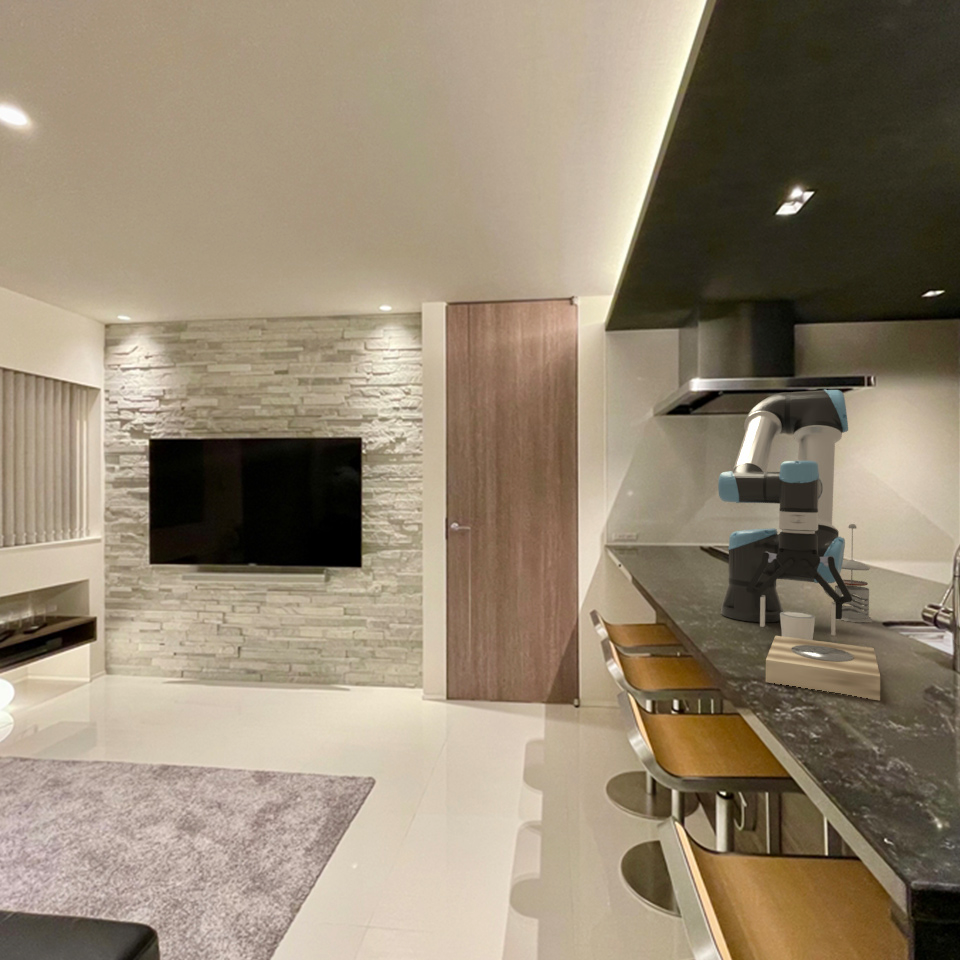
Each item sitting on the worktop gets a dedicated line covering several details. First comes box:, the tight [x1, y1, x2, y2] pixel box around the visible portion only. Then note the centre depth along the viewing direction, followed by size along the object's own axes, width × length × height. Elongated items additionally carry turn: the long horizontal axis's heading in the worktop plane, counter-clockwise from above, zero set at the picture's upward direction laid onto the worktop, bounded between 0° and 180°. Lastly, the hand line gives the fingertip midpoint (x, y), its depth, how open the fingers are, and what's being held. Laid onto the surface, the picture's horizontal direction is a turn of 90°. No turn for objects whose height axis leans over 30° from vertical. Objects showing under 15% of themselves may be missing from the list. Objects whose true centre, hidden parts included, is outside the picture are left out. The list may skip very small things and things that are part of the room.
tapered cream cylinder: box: [780, 611, 816, 640], centre depth 132 cm, size 7×7×7 cm
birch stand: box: [765, 635, 881, 701], centre depth 112 cm, size 20×17×4 cm
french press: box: [823, 523, 874, 623], centre depth 161 cm, size 10×12×25 cm
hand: (796, 629), depth 132 cm, fingers open, 13 cm apart
